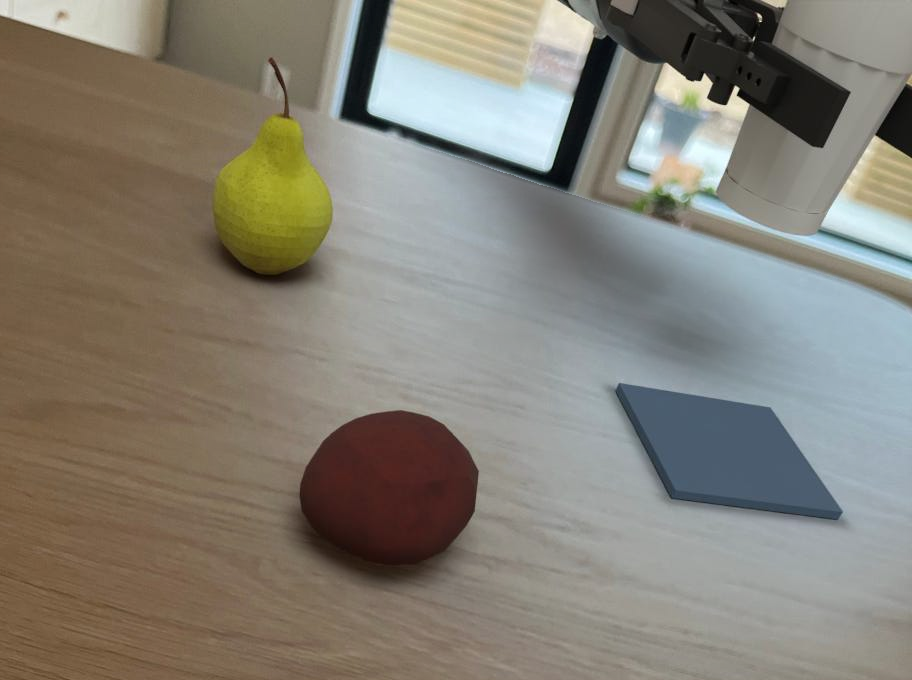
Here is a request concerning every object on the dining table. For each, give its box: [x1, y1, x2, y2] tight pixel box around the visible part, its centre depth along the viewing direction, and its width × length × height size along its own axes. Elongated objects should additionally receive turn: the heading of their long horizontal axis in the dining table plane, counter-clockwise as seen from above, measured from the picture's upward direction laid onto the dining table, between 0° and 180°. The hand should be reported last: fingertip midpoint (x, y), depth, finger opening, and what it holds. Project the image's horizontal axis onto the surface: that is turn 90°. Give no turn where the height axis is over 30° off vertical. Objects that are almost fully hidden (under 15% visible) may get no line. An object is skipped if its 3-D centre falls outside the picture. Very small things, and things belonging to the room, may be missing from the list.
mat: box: [615, 382, 844, 520], centre depth 63 cm, size 11×11×1 cm
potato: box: [299, 409, 480, 567], centre depth 46 cm, size 7×8×6 cm
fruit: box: [212, 57, 334, 276], centre depth 61 cm, size 7×7×12 cm
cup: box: [715, 0, 912, 237], centre depth 57 cm, size 8×8×12 cm
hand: (885, 128), depth 53 cm, fingers closed on cup, 7 cm apart
